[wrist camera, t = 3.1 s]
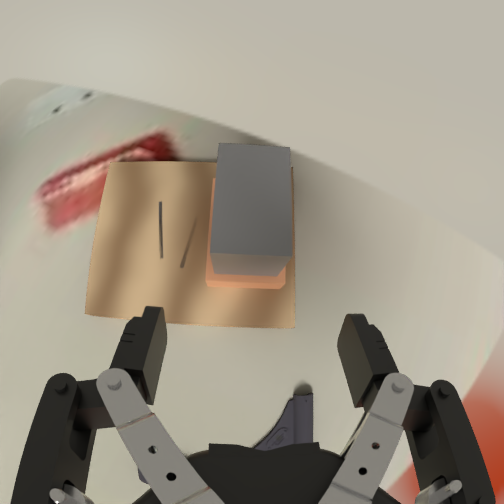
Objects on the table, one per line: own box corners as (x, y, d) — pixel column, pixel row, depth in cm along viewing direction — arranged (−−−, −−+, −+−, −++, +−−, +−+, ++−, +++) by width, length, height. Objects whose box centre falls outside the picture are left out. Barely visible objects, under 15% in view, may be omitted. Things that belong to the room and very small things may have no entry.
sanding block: (207, 286, 24) (197, 261, 16) (214, 192, 26) (210, 136, 18) (279, 289, 24) (303, 266, 17) (279, 195, 26) (298, 142, 19)
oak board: (92, 315, 24) (84, 313, 22) (115, 170, 28) (110, 162, 26) (290, 328, 25) (294, 327, 24) (289, 175, 29) (292, 167, 27)
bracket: (136, 392, 23) (126, 397, 21) (310, 391, 24) (319, 397, 22) (152, 522, 20) (146, 537, 17) (307, 521, 21) (314, 535, 18)
